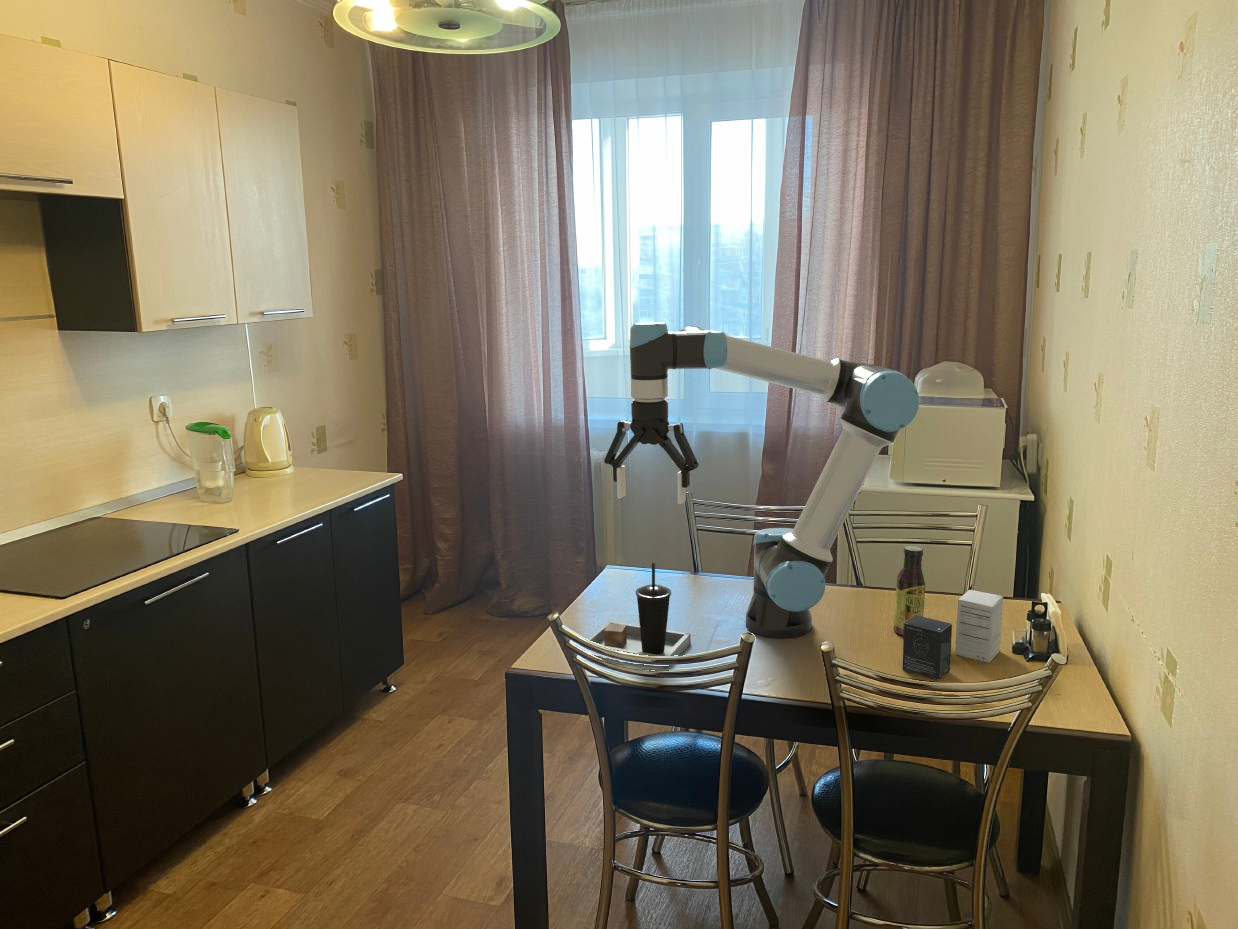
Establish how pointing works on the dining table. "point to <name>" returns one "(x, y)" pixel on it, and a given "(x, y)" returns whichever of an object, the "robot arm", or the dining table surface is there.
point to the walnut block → (615, 635)
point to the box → (927, 647)
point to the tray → (673, 641)
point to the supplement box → (979, 625)
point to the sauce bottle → (909, 589)
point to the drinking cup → (653, 615)
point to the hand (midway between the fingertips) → (651, 499)
